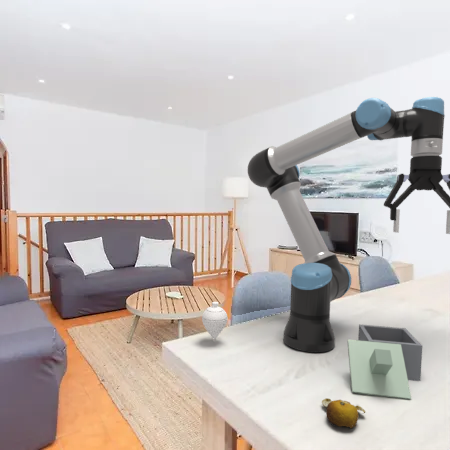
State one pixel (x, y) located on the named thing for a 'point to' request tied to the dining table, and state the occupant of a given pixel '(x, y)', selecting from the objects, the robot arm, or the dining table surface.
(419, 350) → the storage box
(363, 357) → the lid
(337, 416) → the fruit
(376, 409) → the dining table surface
